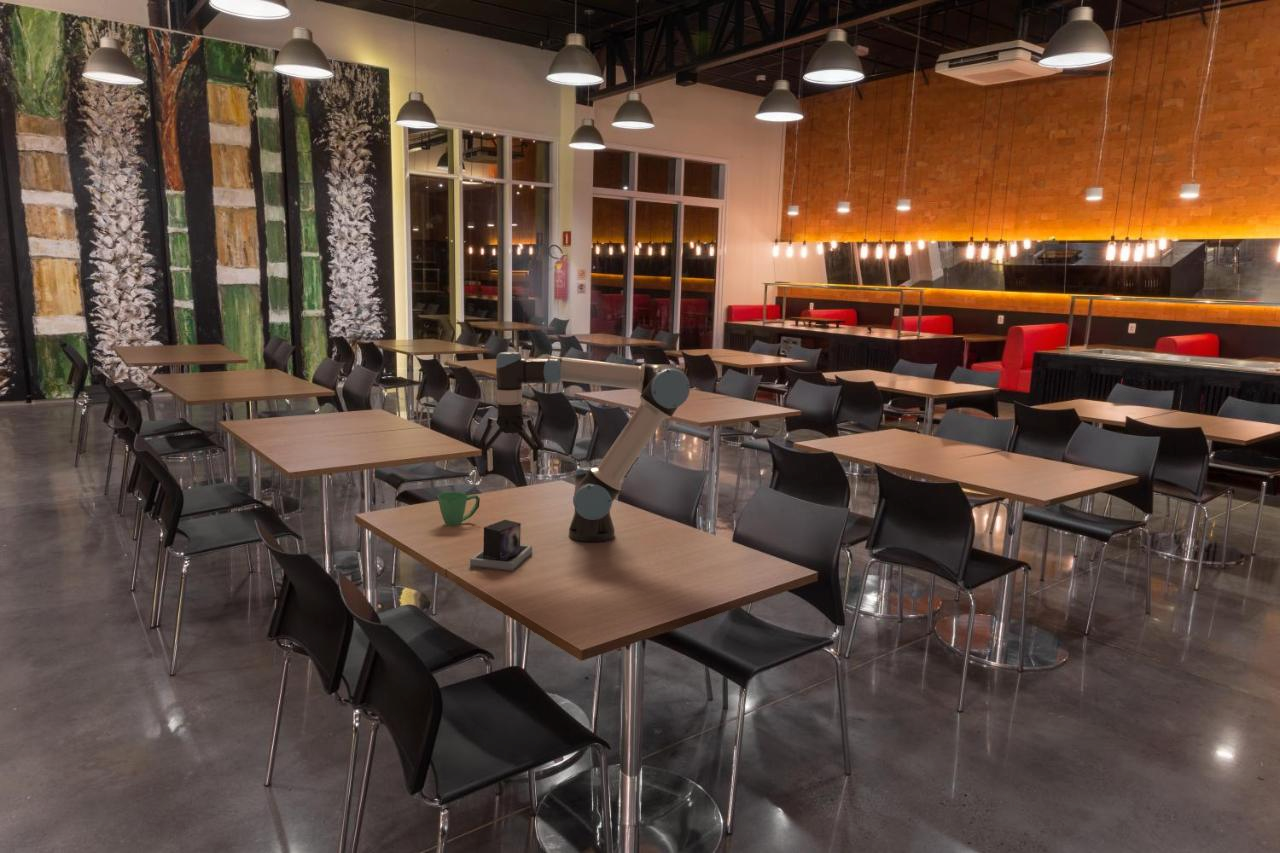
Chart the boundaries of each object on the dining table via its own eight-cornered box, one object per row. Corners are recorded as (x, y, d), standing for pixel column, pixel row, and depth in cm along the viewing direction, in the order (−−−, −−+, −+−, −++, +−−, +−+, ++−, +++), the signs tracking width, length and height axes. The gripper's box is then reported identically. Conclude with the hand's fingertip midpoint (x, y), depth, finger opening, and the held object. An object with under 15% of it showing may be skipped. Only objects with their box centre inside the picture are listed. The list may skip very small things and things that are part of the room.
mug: (444, 529, 281) (444, 500, 280) (433, 522, 289) (433, 494, 287) (485, 523, 289) (485, 495, 288) (473, 517, 297) (473, 489, 296)
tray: (532, 553, 260) (532, 545, 259) (512, 571, 243) (512, 563, 243) (492, 549, 262) (492, 541, 262) (470, 567, 246) (470, 558, 245)
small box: (499, 565, 246) (499, 530, 245) (482, 561, 249) (482, 527, 248) (521, 555, 256) (521, 522, 254) (504, 551, 259) (504, 518, 257)
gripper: (552, 402, 259) (553, 469, 263) (474, 400, 263) (476, 466, 266) (546, 405, 252) (548, 474, 256) (466, 403, 255) (468, 472, 259)
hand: (511, 470), depth 261 cm, fingers open, 13 cm apart
